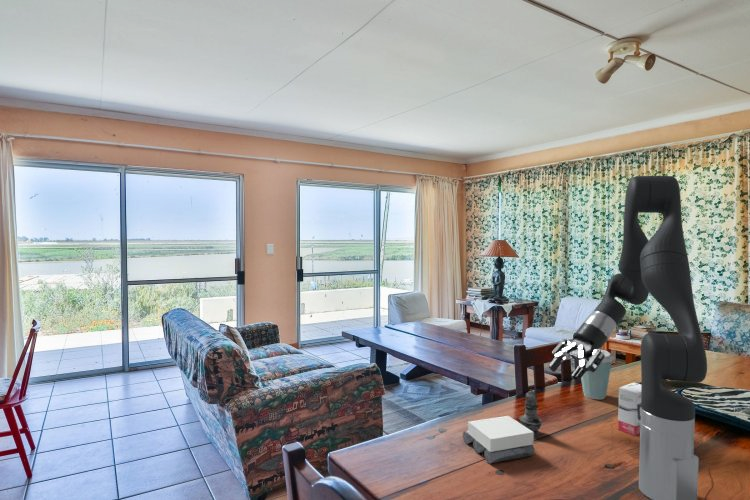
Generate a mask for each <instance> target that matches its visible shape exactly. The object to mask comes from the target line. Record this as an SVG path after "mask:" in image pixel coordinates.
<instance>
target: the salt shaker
mask: <svg viewBox="0 0 750 500" xmlns="http://www.w3.org/2000/svg"><path fill="white" fill-rule="evenodd" d="M537 403H538V396H537V394H536V392H534V390H533V389H532V388H531V389H530V391H528V392H526V393H525V403H524V404H523V406H524V414H523V415H521V416H519V420H520V424H522V425H523V426H525V427H526V428H528V429H530V430H531V431H533V432H534V438H538V437H541V435H542V433H541V431H539V429H540V428H541V427H542V424H543V420H542V418H540V417H538V408H539V406H538V404H537Z"/></svg>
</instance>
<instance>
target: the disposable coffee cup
mask: <svg viewBox="0 0 750 500" xmlns="http://www.w3.org/2000/svg"><path fill="white" fill-rule="evenodd" d="M600 350H601V351H602V352H603V354H604V355H605V357H604V359H603V360H602V362H601V363H600V365H599V366H598V368H597V369H596V371H595V372H591V371H588V372H585V373H584V375H583V376H582V377H581V379H580V381H581V384H582V385H581V386H582V393H583V394H584V396H585V397H586V398H588V399H592V400H604V399H605V398H606V397H607V393H608V392H607V391H608V386H609V380H610V375H611V368H612V362H613V356H612V355H611V352H609V351H608V350H604V349H600ZM590 358H591V357H590ZM577 361H578V366H580V361H579V360H577ZM593 365H594V363H593ZM593 365H592V366H593Z"/></svg>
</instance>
